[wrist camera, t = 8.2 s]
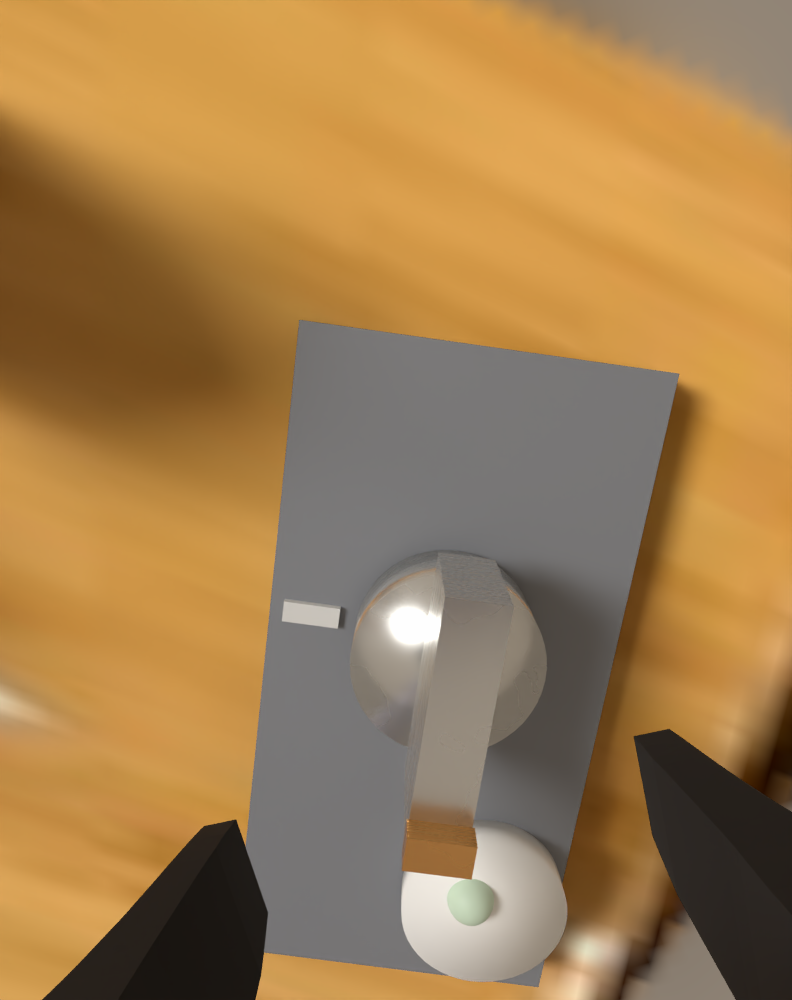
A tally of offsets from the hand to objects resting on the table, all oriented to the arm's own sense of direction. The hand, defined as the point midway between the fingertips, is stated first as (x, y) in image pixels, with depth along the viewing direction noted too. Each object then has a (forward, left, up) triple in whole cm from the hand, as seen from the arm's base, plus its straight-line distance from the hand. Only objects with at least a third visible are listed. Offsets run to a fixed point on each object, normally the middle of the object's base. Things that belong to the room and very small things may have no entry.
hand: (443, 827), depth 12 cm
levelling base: (-2, 0, -9) cm, 10 cm away
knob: (0, 0, -8) cm, 8 cm away
